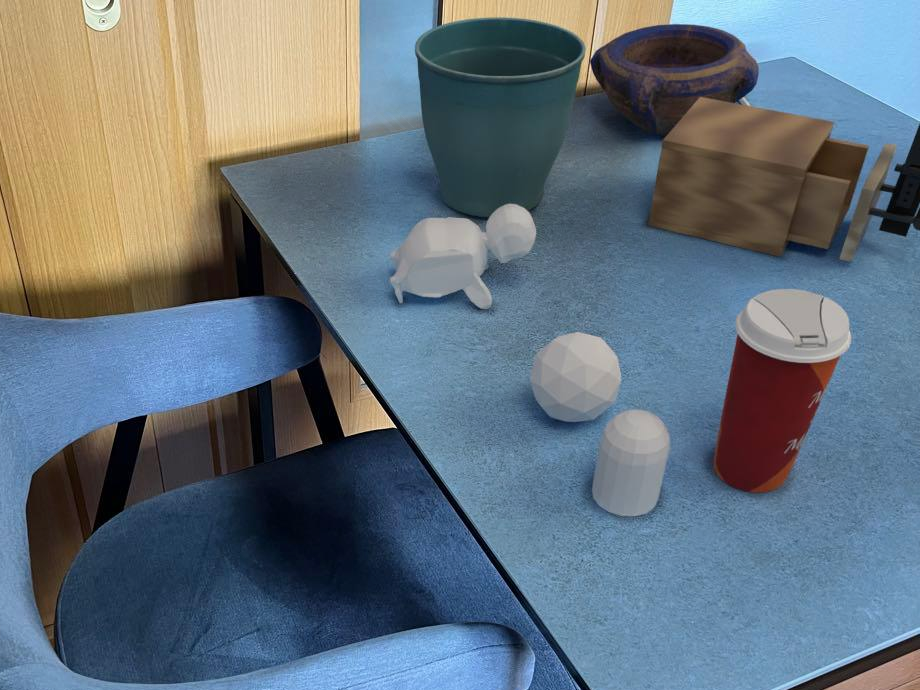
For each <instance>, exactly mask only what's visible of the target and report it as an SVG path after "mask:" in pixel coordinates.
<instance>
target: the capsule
mask: <svg viewBox="0 0 920 690" xmlns="http://www.w3.org/2000/svg"><path fill="white" fill-rule="evenodd" d="M670 450H671V438H670V433H669V429H668V427H666V425H665V423H664V421H662V419H660V417H659V416H658V415H656V414H654V413H652V412H650V411H647V410H644V409H628V410H624V411H622V412H620V413H618V414H617V415H616V416H614V417H613V418H611V419H610V420H609V421H608V422H607V424H606V425H605V427H604V430H603V432H602V434H601V437H600V439H599V445H598V451H597V457H596V463H595V468H594V469H595V470H594V475H593V480H592V486H591V492H592V499H593V500H594V501H595V502H596V504H597V505H598V507H600V508H602V509H603V510H605V511H607V512H608V513H611V514H614V515H616V516H621V517H638V516H642V515H646V514H648V513H649V512H650V511H652V510H653V509H655V507H656V505H657V504H658V501H659V497H660V493H661V489H662V485H663V481H664V476H665V471H666V468H667V463H668V459H669V455H670Z"/></svg>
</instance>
